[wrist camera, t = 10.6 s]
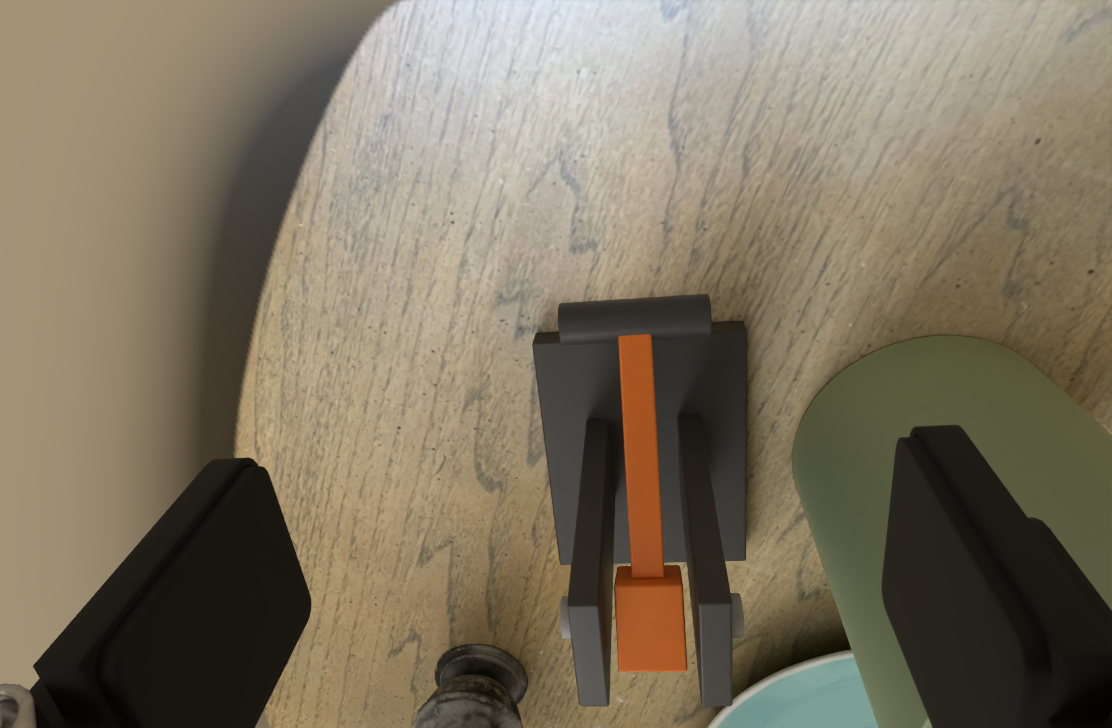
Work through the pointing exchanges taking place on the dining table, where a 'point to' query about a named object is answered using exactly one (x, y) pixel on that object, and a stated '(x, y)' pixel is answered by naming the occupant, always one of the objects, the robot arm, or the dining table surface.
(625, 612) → the orange pivot lever
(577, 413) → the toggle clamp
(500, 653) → the chess piece
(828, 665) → the plate
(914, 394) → the green canister
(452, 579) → the dining table surface
